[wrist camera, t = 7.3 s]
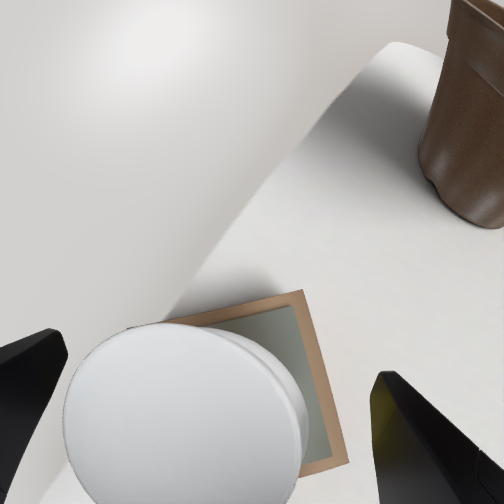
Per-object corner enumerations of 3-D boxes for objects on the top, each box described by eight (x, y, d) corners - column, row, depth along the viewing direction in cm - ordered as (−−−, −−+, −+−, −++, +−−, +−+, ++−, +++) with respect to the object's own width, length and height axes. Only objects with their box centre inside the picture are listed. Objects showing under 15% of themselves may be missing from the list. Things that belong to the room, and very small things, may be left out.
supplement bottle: (307, 375, 14) (380, 364, 5) (263, 474, 12) (257, 597, 3) (200, 333, 15) (105, 256, 6) (158, 429, 13) (21, 469, 4)
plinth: (178, 481, 15) (162, 498, 12) (146, 336, 19) (124, 327, 16) (337, 451, 15) (350, 464, 12) (297, 302, 19) (303, 287, 16)
